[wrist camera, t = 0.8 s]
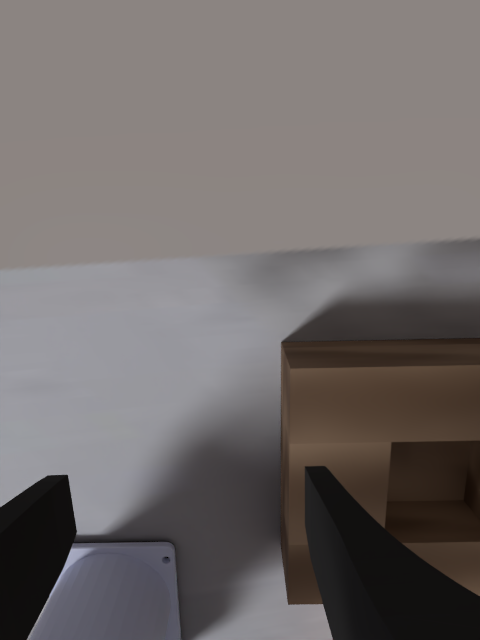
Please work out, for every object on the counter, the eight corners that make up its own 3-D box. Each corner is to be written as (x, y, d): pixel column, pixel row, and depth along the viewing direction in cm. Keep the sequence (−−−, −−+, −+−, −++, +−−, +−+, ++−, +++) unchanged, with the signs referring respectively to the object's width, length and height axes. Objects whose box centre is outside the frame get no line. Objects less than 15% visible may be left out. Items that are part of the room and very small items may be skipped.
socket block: (524, 539, 24) (578, 599, 20) (280, 543, 24) (288, 604, 20) (561, 336, 21) (633, 362, 17) (281, 342, 21) (290, 368, 17)
